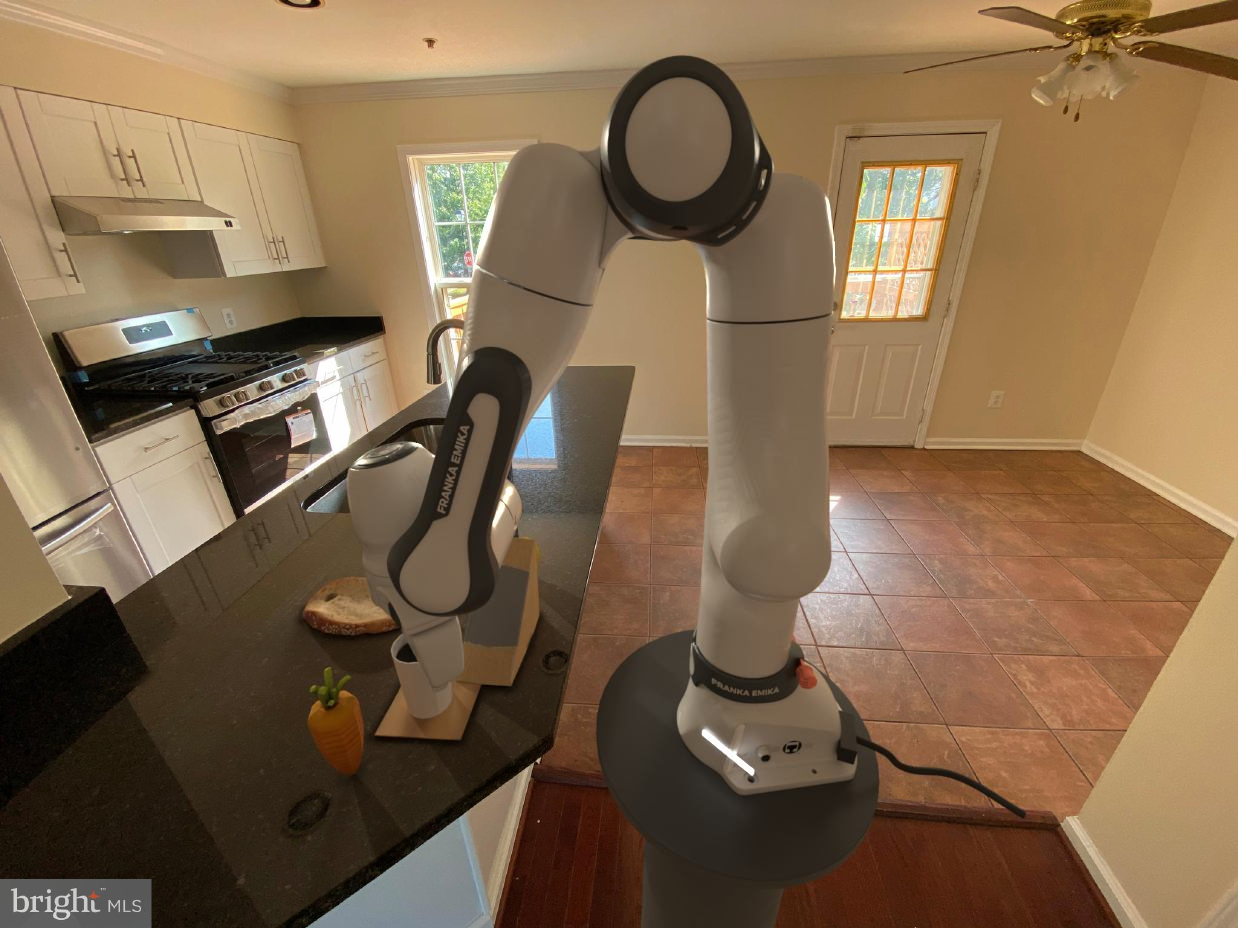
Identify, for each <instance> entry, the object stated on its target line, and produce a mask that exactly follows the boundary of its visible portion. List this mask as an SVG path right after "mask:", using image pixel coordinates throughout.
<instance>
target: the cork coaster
mask: <svg viewBox="0 0 1238 928" xmlns="http://www.w3.org/2000/svg"><path fill="white" fill-rule="evenodd" d="M451 684H452V693H453V696H452V701H451V703H450V704H449V706H448V707H447V709H445V710H444V711H443V712H442V713H440V714H439V715H437V716H434V717H432V718H427V719H419V718H415V717H413V716H412V715H411V714H410V713H409V711H408V707H407V704H406V701H405V697H404V694H403V691H402V687H401V686H400V688H399V690H398V692H397V694H396V696H395V697H394V699H393V701H392V703H391V705H390V706H389V708H388V709H387V712H386V713H385V714H384V717H383V719H382V720H381V722H380V724H379V726H378V727H377V730H376V731H375V733H374V737H385V738H386V737H389V738H406V739H407V738H408V739H423V740H424V739H425V740H426V739H428V740H444V741H445V740H447V741H461V740H462V738H463V735H464V732H465V730H466V727H467V724H468V723H469V720H470V717H471V714H472V711H473V709H474V706H475V703H476V701H477V698H478V695H479V692H480V690H481V687H482V685H483V684H477V683H470V682H463V681H456V679H454V680H453V681H451Z"/></svg>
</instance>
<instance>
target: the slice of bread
mask: <svg viewBox="0 0 1238 928" xmlns="http://www.w3.org/2000/svg"><path fill="white" fill-rule="evenodd" d="M301 616H302V619H303V620H305V622H307V624H308V626H310V627H311V628H313V629H314V630H317V631H319V632H322V633H326V634H332V635H333V634H334V635H341V636H353V637H354V636H358V635H363V634H379V633H387V632H390V631H393V630H397V629H399V628H398V626H397V625H396V623H395V622H394V621H393V619H392V618H391V617H390V616H389V615H388V614H387V613H385V612H384V611H383V610H382V608H380V607H378V606H376V605H375V604H374V603H373V602H372V600H371V597H370V593H369V588H368V584H367V580H366V577H355V576H353V577H352V576H351V577H341V578H339V579H336V580H333V581H331V582H329V583H328V584H326V585H324V586H323V587H321V589H319V590H318V591H317V592H316V593H315V594H313V596H312V597H311V598H310V599H309V601H308V602H307V604H306V605H305V607H304V609H303V611H302V615H301Z"/></svg>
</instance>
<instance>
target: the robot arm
mask: <svg viewBox="0 0 1238 928" xmlns="http://www.w3.org/2000/svg"><path fill="white" fill-rule="evenodd" d="M765 170H766V172H764V171H765ZM834 239H835V238H834V228H833V219H832V210H831V204H830V200H829V198H828V195H827V193H826V191H825V190H824V188H822V187H821V185H820V184H818V183H817V182H815V181H814V180H812V179H810V178H808V177H805V176H802V175H799V174H796V173H791V172H790V173H789V172H775V164H774V159H773V157H772V155H771V154H770V152H769V150H768V147H767V146H766V144H765V142H764V140H763V137H762V136H761V134H760V132H759V130H758V128H757V126H756V123H755V121H754V119H753V116H752V114H751V111H750V109H749V107H748V104H747V103H746V100H745V98H744V96H743V94H742V93H741V91H740V90H739V89H738V87H737V85H736V84H735V82H734V81H733V80H732V79H731V77H730V76H729V75H728V74H727V73H726V72H725V71H724V70H723V69H721V68H720V67H719V66H717V65H716V64H714V63H713V62H711V61H710V60H707V59H705V58H701V57H698V56H694V55H686V54H685V55H684V54H681V55H680V54H679V55H669V56H666V57H663V58H660V59H657V60H655V61H652V62H650V63H649V64H647V65H645V66H643V67H642V68H640V69H639V70H638V71H637V72H635V73H634V74H633V75H632V76H631V77H630V78H629V80H627V81H626V83H625V84H624V85H623V86H622V87H621V89H620V90H619V91H618V92H617V94H616V96H615V98H614V100H613V101H612V103H611V105H610V107H609V110H608V112H607V115H606V117H605V119H604V124H603V128H602V132H601V138H600V145H598V146H597V147H595V148H593V149H589V150H583V149H581V150H578V149H576V148H574V147H571V146H569V145H565V144H562V143H558V142H557V143H556V142H537V143H533V144H529V145H526V146H523V147H522V148H520V149H519V150H518V151H517V152H515V154H514V155H513V156H512V157H511V159H510V160H509V162H508V164H507V166H506V169H505V171H504V173H503V175H502V177H501V181H500V182H499V184H498V187H497V189H496V192H495V195H494V198H493V200H492V203H491V205H490V209H489V212H488V214H487V218H486V220H485V224H484V227H483V230H482V234H481V238H480V241H479V245H478V248H477V253H476V258H475V263H474V266H473V271H472V276H471V280H470V281H471V282H470V287H469V291H468V298H467V304H466V310H465V315H464V321H463V328H462V336H461V342H460V348H459V353H458V358H457V363H456V367H455V368H456V369H455V374H454V380H453V386H452V392H451V396H450V400H449V404H448V406H447V407H448V408H447V412H446V414H445V419H444V422H443V425H442V429H441V433H440V436H439V440H438V442H437V447H436V450H435V454H433V453H432V452H430V451H429V450H428V449H427V448H426V447H424V446H423V445H422V444H421V443H418V442H417V443H416V442H413V441H398V442H397V441H396V442H392V443H387V444H384V445H380V446H378V447H376V448H373V449H371V450H368V451H367V452H365V453H364V454H362V455H361V456H360V457H358V459H356V460H355V461H354V462H353V463H352V464H351V465H350V467H349V468H348V470H347V474H346V492H347V493H346V494H347V502H348V507H349V512H350V513H349V514H350V517H351V522H352V527H353V530H354V531H353V532H354V534H355V536H356V538H357V539H358V541H359V542H360V544H361V546H362V558H361V561H362V568H363V572H364V576H365V578H366V580H367V584H368V588H369V593H370V597H371V600H372V602H373V603H374V604H375V605H376V606H378V607H380V608H382V610H383V611H384V612H385V613H387V614H388V615H389V616H390V617H391V618H392V619H393V621H394V622H395V623H396V625H397V626H398V628H397V629H399V631H400V632H401V634H403V635H404V636H405V638H406V640H407V642H408V644H409V646H410V647H411V649H412V651H413V653H414V655H415V657H416V659H417V661H418V662H419V664H420V666H421V668H422V670H423V672H424V674H425V676H426V678H427V679H428V682H429V684H430V685H431V687H432V689H433V691H434V692H439V691H441V690H443V689H445V688H446V687H447V686H448V683H449V682H451V681H453V680H454V679H456V678H458V677H459V676H460V675H461V674H462V673H463V671H464V654H463V643H464V642H463V634H462V628H461V623H460V620H459V617H458V616H462V615H463V616H464V615H466V614H469V613H470V612H473V611H476V610H478V609H479V608H481V607H482V606H484V605H485V604H486V603H487V602H488V601H489V599H490V598H491V596H492V594H493V592H494V588H495V585H496V582H497V579H498V575H499V570H500V568H501V566H502V563H503V561H504V558H505V556H506V554H507V551H508V549H509V547H510V544H511V542H512V539H513V537H514V536H515V534H516V532H517V529H518V526H519V524H520V522H521V519H522V516H523V511H524V504H523V499H522V496H521V494H520V491H519V489H518V488H517V487H516V485H515V484H514V483H513V482H512V481H511V480H510V479H509V478H508V476H509V472H510V468H511V467H512V463H513V459H514V456H515V453H516V450H517V448H518V446H519V443H520V441H521V440H522V437H523V435H524V433H525V431H526V429H527V428H528V426H529V424H530V423H531V421H532V419H533V417H534V416H535V414H536V413H537V411H538V410H539V408H540V407H541V405H542V404H543V402H544V401H545V399H546V398H547V397H548V396H549V394H550V393H551V391H552V390H553V389H554V387H555V385H556V384H557V383H558V381H559V380H560V378H561V377H562V376H563V374H564V373H565V370H566V369H567V367H568V365H569V364H570V362H571V360H572V359H573V356H574V355H575V353H576V351H577V349H578V347H579V344H580V342H581V340H582V338H583V335H584V334H585V331H586V328H587V325H588V324H589V321H590V317H591V315H592V312H593V309H594V305H595V302H596V299H597V295H598V293H599V292H598V291H599V290H600V289H599V288H600V285H601V282H602V279H603V276H604V273H605V271H606V268H607V266H608V264H609V261H610V259H611V257H612V256H613V254H614V252H615V250H616V249H617V248H618V247H619V245H620V244H622V243H623V242H624V241H626V240H636V241H637V240H638V241H641V240H642V241H652V242H653V241H654V242H680V241H687V242H688V243H689V244H691V245H692V246H693V247H694V248H695V250H696V251H697V253H698V255H699V256H700V260H701V262H702V265H703V270H704V277H705V283H706V308H705V309H706V312H705V313H706V314H705V315H706V319H705V320H706V324H705V325H706V398H707V399H706V401H707V403H706V406H707V408H706V409H707V455H708V457H707V458H708V461H707V462H708V464H707V465H708V472H707V484H706V498H705V500H706V501H705V511H704V526H703V529H704V530H703V543H702V557H701V558H702V559H701V560H702V561H701V577H700V578H701V579H700V590H699V601H698V614H697V625H696V627H695V628H694V630H695V631H694V634H693V640H692V644H691V651H690V665H689V669H690V674H691V676H690V680H689V683H688V686H687V689H686V692H685V694H684V696H683V698H682V700H681V702H680V704H679V707H678V710H677V725H678V729H679V733H680V735H681V737H682V739H683V741H684V743H685V745H686V746H687V747H688V749H689V750H690V751H691V752H692V753H693V754H694V756H696V757H697V758H698V759H699V760H700V761H701V762H703V763H704V764H706V765H707V766H709V767H710V768H712V769H713V770H715V771H716V772H718V773H719V774H720V775H721V776H722V778H723V779H724V780H725V782H726V783H727V784H728V785H729V786H730V788H731V789H732V790H733V791H735V792H736V793H737V794H739V795H751V794H758V793H765V792H772V791H779V790H786V789H793V788H800V787H806V786H813V785H820V784H827V783H834V782H841V781H847V780H851V779H853V778H854V776H855V773H856V768H857V743H858V744H860V745H862V746H865V747H867V748H870V749H872V750H874V751H875V753H878V754H880V755H881V756H883V757H885V758H886V759H887V760H888V761H889V762H890V763H891V765H892V766H893V767H895V768H896V769H898V770H900V771H902V772H905V773H908V774H911V775H916V776H933V777H934V776H935V777H942V778H943V777H944V778H948V779H951V780H955V781H957V782H959V783H962V784H964V785H967V786H969V787H971V788H972V789H974V790H976V791H977V792H979V793H981V794H983V795H984V796H986V797H988V798H989V799H991V800H992V801H994V802H995V803H997V804H999V805H1000V806H1001V807H1003V808H1005V809H1006V810H1008V811H1009V812H1011V813H1013V814H1014V815H1016V816H1017V817H1019V818H1021V819H1022V820H1025V818H1026V816H1027V811H1025V810H1024V809H1023V808H1020V807H1019V806H1017V805H1016V804H1014V803H1012V802H1011V801H1009V800H1008V799H1006V798H1004V797H1003V796H1002V795H1000V794H998V793H997V792H996V791H994V790H992V789H990V788H989V787H987V786H986V785H984V784H982V783H980V782H979V781H977V780H975V779H973V778H970V777H969V776H967V775H964V774H962V773H960V772H957V771H954V770H951V769H947V768H942V767H932V766H915V765H909V764H906V763H903V762H901V761H900V760H899V759H898V758H897V756H895V755H894V753H892V752H891V751H890V750H888V749H887V748H885V747H884V746H882V745H880V744H878V743H876V742H873V741H872V742H871V741H869V740H866V739H864V738H861V737H859V736H857V735H856V730H855V719H854V714H851V713H847V712H844V711H842V710H841V708H840V706H839V705H838V703H837V702H836V700H835V698H834V696H833V694H832V692H831V689H830V688H829V686H828V684H827V682H826V681H825V679H824V678H823V676H822V675H821V674H820V673H819V671H818V670H817V669H815V668H814V667H813V666H811V665H809V664H807V663H806V662H804V659H805V654H804V651H803V649H802V647H801V645H799V644H798V642H797V640H796V636H795V635H794V631H795V626H796V622H797V616H798V612H799V611H798V610H799V604H800V600H801V599H802V598H805V597H806V596H808V595H810V594H811V593H813V592H814V591H815V590H816V589H817V588H819V587H820V585H822V583H823V582H824V581H825V579H826V578H827V576H828V574H829V571H830V569H831V566H832V557H833V556H832V535H831V518H830V517H831V516H830V510H831V509H830V507H831V505H830V504H831V503H830V502H831V491H830V490H831V488H830V487H831V486H830V482H831V481H830V480H831V479H830V451H829V450H830V449H829V432H828V414H827V413H828V411H827V400H828V398H827V397H828V383H829V381H828V380H829V369H830V356H831V345H832V332H833V321H834V307H835V289H836V288H835V287H836V261H835V259H836V256H835V241H834ZM748 780H752V781H753V782H754V783H750V782H749V781H748Z"/></svg>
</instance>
